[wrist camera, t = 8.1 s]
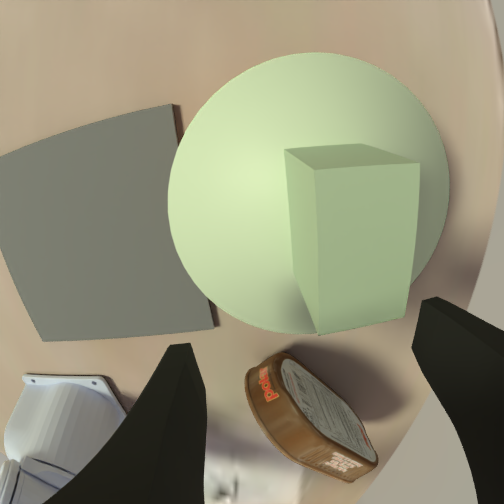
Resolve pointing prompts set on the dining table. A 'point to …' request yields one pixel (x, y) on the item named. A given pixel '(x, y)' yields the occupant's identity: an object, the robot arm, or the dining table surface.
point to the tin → (308, 419)
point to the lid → (309, 195)
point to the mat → (98, 232)
